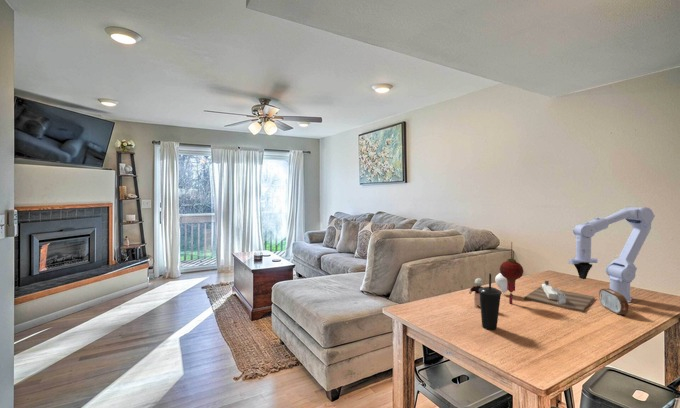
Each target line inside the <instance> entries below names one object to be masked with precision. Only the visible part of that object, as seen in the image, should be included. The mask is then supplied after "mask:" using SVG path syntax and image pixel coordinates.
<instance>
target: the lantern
mask: <svg viewBox="0 0 680 408" xmlns="http://www.w3.org/2000/svg"><path fill="white" fill-rule="evenodd" d="M510 246H511V247H510V248H511V255H510V256H511V258H506V259H507V260H506V261H503V262H502V263H500V266H499V273H501V274H502V276H504V277H505V278H506V279H507V291H508V292H510V293H509V297H508V298H509V300H508V301H509V302H508V303H509V305H513V292H515V291H516V280H518V279H521V278H522V276H523V275H524V267H523V266H522V264H521V263H519V262H517V260H516V259H514V258H513V243H511V245H510Z"/></svg>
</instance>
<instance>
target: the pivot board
mask: <svg viewBox="0 0 680 408" xmlns="http://www.w3.org/2000/svg"><path fill="white" fill-rule="evenodd" d="M544 284H546V285H549V284H550V283H549V280H544ZM559 290H560V289H559ZM560 291H561V292H562V293H563V294H565V295H566V305H563V304H559V303H557V300H554V299H549V298H548V297H547V295H546V293H545V292H544V290H542V286H539V287H537V288H536V289H534V290H533V291H532V292H529V293H528V294H527V295H525V296H524V298H523V300H526V301H530V302H535V303H540V304H544V305H547V306H553V307H557V308H562V309H567V310H570V311H573V312H574V311H576V312H579V313H584V312H585V311H586V309H587V308H588V307H589V306H590V305H591V303H592V302H593V301H594V299H595V296H594V295H593V296H592V295H588V294H581V293H579V292H578V293H577V292H572V291H566V290H560Z"/></svg>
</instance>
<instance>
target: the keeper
mask: <svg viewBox="0 0 680 408" xmlns="http://www.w3.org/2000/svg"><path fill="white" fill-rule="evenodd" d="M551 290H552V291H553V292H554V293H555V294H556V295H557V303H559V304H563V305H566V295H565V294H563V293H562V292H561V291H560V289H558V288H553V287H552V288H551Z"/></svg>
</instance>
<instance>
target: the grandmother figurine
mask: <svg viewBox="0 0 680 408" xmlns="http://www.w3.org/2000/svg"><path fill="white" fill-rule="evenodd" d="M474 284H475V286H472V287H471V288H470V289H469V292H468V294H469V295H471V294H472V293H473V292H474V295H473V296H474V299H473V300H474V306H473V307H474V308H476V309H477V308H478V309H479V308H480V309H481V305H480V292H479V289H480V288H483V287H484V286H483V279H482V278H480V277H478V278H475V280H474Z"/></svg>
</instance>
